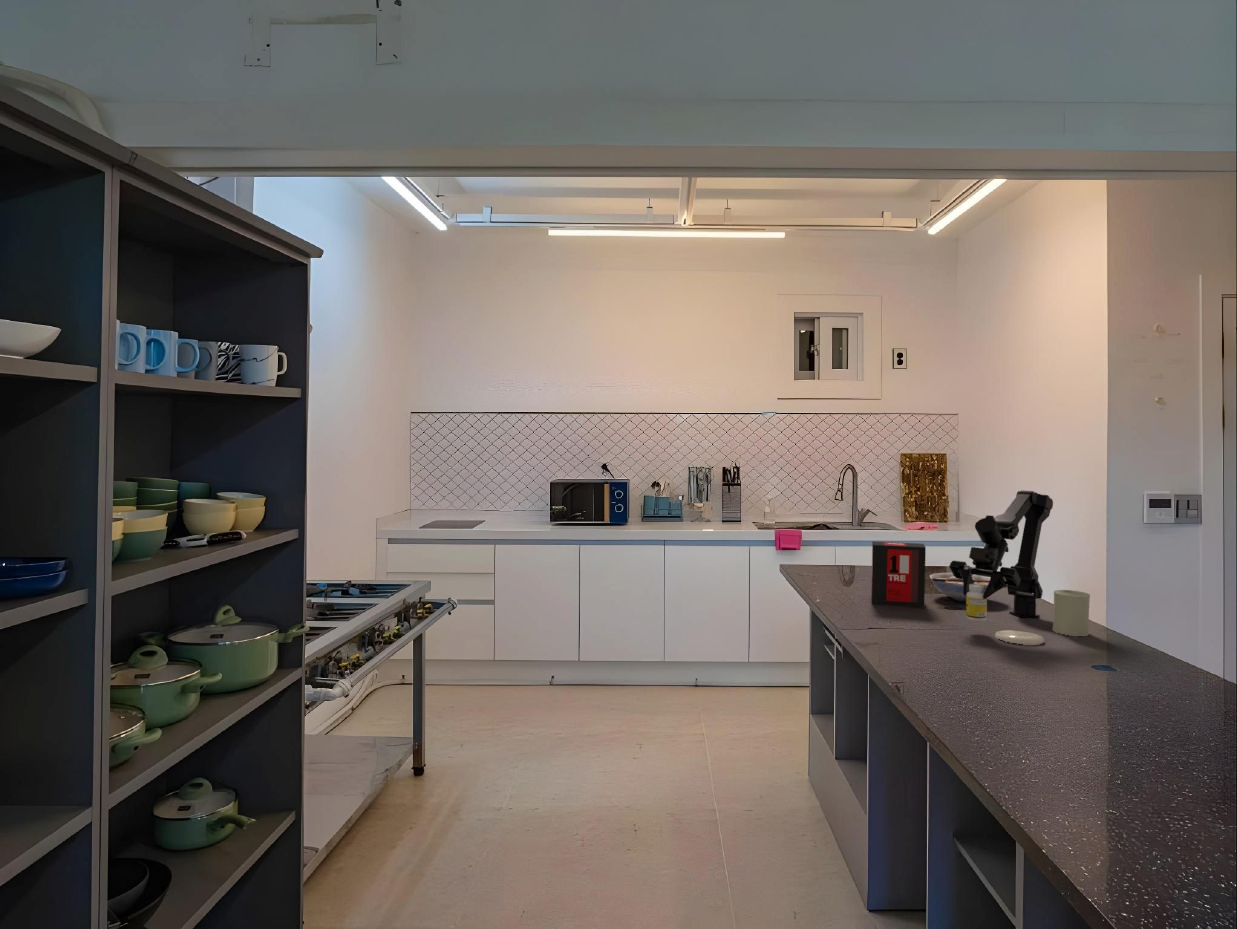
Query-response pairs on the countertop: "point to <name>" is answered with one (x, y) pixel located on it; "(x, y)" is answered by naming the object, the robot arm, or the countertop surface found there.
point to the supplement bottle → (976, 603)
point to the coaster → (1019, 637)
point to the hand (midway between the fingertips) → (974, 596)
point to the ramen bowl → (955, 584)
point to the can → (1071, 613)
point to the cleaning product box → (898, 574)
